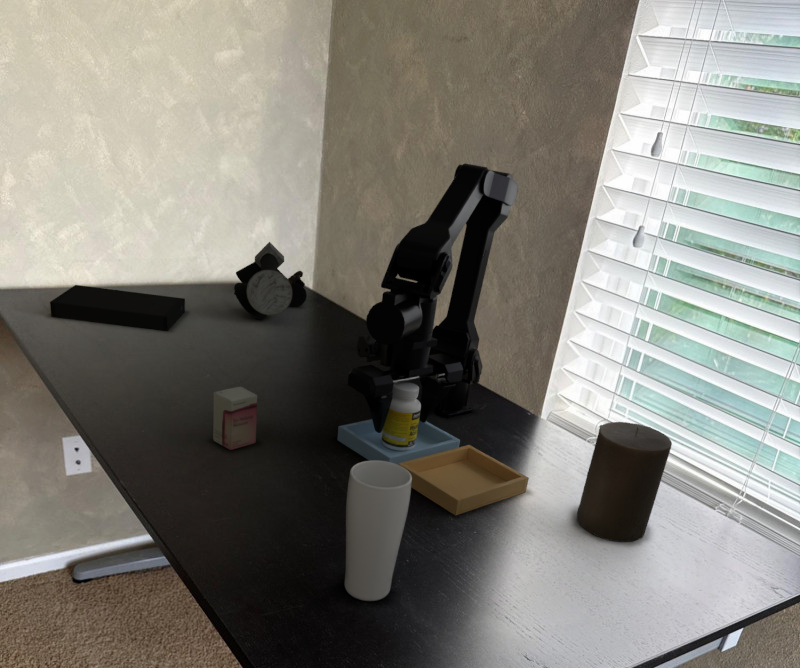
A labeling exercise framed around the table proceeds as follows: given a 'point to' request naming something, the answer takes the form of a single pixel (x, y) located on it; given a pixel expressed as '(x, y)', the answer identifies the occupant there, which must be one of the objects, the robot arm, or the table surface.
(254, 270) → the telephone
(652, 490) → the pillar candle
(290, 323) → the table surface
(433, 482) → the tray
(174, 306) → the external hard drive
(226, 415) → the small box
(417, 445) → the tray
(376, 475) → the drinking glass
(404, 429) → the supplement bottle
